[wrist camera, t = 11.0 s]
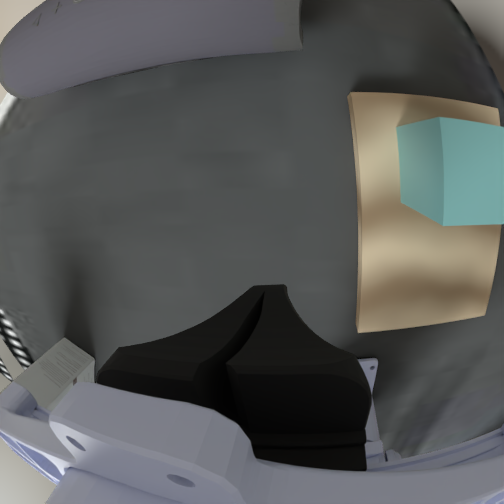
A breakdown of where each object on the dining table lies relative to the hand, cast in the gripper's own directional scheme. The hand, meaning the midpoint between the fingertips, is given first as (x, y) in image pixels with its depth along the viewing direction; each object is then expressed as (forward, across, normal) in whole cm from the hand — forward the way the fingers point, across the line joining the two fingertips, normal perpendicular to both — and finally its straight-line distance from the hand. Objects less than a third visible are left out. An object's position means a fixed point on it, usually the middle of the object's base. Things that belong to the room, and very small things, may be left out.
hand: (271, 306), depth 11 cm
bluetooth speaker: (+11, +8, -18) cm, 22 cm away
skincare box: (+11, +29, +16) cm, 35 cm away
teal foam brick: (+9, -11, -5) cm, 15 cm away
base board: (+10, -12, -1) cm, 16 cm away
